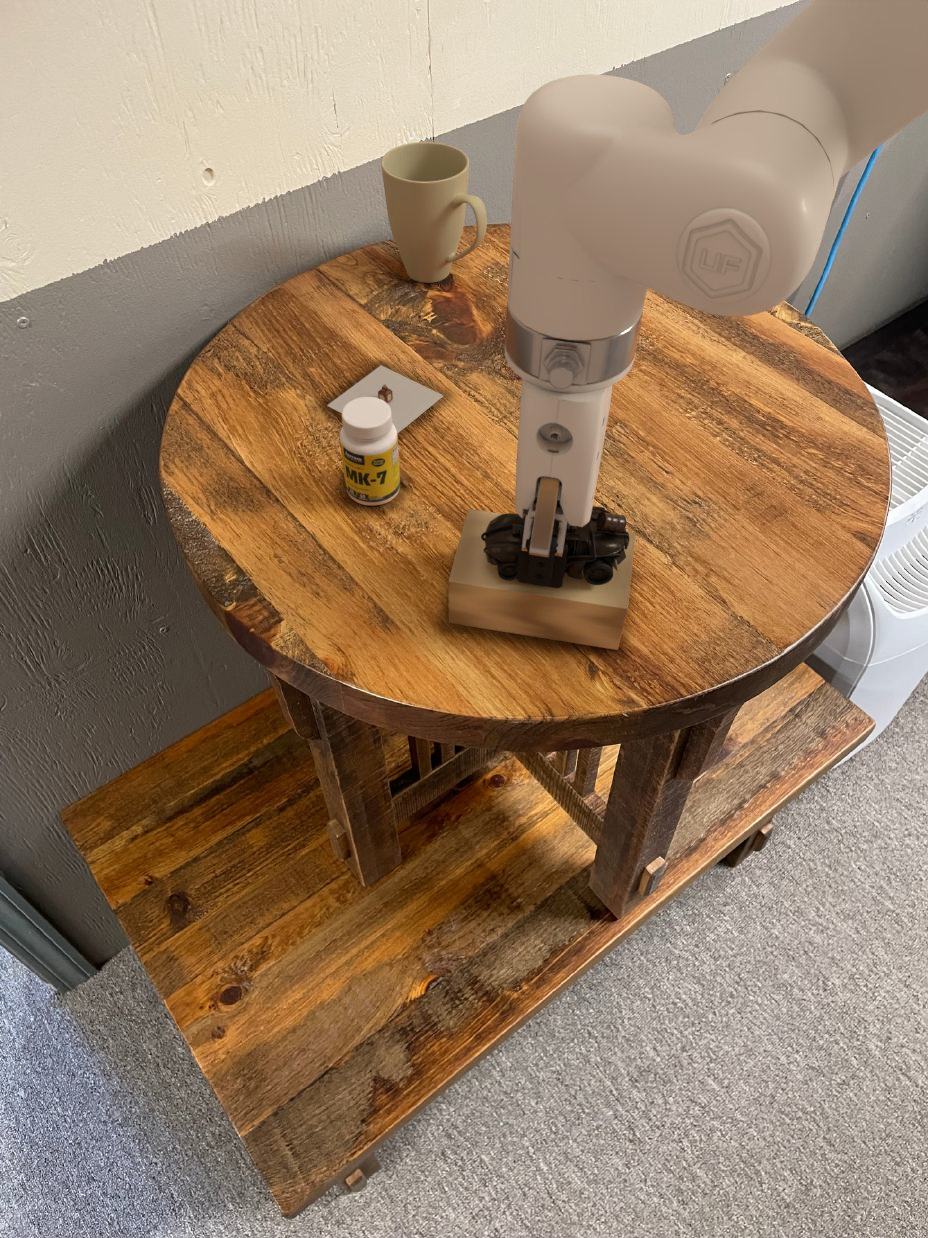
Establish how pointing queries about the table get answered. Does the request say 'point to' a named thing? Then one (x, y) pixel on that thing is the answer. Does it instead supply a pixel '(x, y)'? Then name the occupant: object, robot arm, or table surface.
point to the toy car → (585, 544)
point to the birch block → (535, 596)
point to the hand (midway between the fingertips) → (546, 544)
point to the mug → (429, 206)
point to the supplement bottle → (369, 451)
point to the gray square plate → (391, 395)
